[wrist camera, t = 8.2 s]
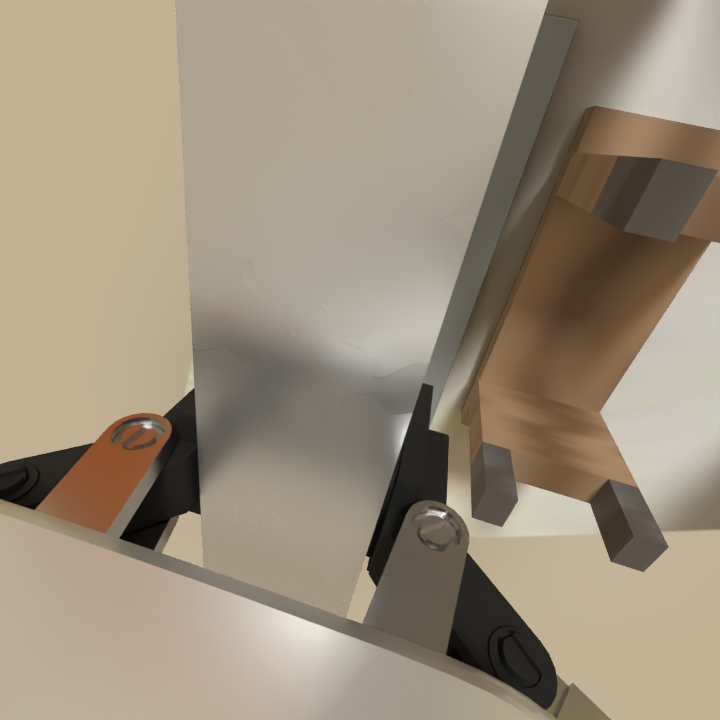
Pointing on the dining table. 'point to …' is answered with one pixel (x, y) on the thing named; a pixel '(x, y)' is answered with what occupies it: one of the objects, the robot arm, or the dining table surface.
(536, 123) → the rubber mat
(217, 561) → the steel bar
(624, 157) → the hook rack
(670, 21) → the dining table surface
